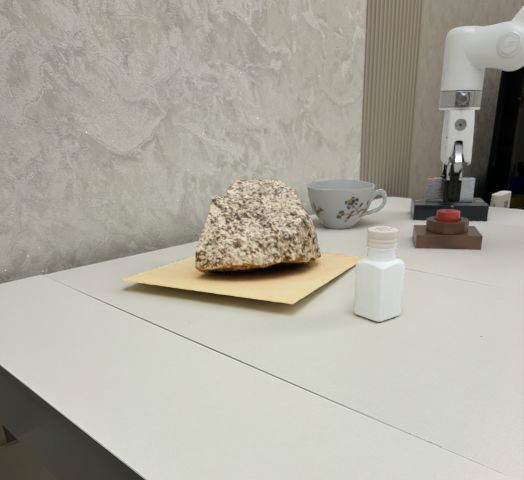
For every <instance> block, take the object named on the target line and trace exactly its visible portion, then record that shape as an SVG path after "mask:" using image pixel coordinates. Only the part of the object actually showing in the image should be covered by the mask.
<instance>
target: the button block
mask: <svg viewBox="0 0 524 480" xmlns="http://www.w3.org/2000/svg"><path fill="white" fill-rule="evenodd" d="M483 237H484V236H483V235H482V233H481V232H480V231H479V230H478V229H477V227H476V226H475V225H470V221H469V220H468V218H464V217H460V219H459V221H456V222H444V221H437V220H436V216H431V217H428V218H427V220H425V224H413V226H412V241H413V244H414V248H415V249H426V250H427V249H429V250H432V249H433V250H469V251H471V250H472V251H481V250H482V245H483Z"/></svg>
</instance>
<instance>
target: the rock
mask: <svg viewBox="0 0 524 480" xmlns="http://www.w3.org/2000/svg"><path fill="white" fill-rule="evenodd" d="M197 241H198V242H197V244H196V247H195V252H194V255H191V256H189V257H186V258H183V259H180V260H176V261H174V262H173V261H172V262H170V263H167V264H165V265H162V266H159V267H155V268H153V269H149V270H146V271H143V272H141V273H137V274H135V275H131V276H128V277H125V278H122V279H121V281H125V282H131V283H136V284H137V283H139V284H146V285H151V286H159V287H167V288H173V289H179V290H186V291H195V292H201V293H210V294H216V295H223V296H224V295H225V296H232V297H237V298H245V299H246V298H247V299H252V300H258V301H266V302H267V301H269V302H273V303H282V304H289V305H294V304H296V303H298V302H299V301H300V300H302V299H305V297H307V296H309V295H310V294H311V293H314V292H315V291H316V290H318V289H319V288H321V287H323V286H324V285H326V284H328V283H329V282H330V281H332V280H334V279H335V278H337V277H338V276H340V275H341V274H343V273H344V272H346V271H348V270H349V269H351V268H353V267H354V266H356V263H357V262H358V260H360V259H362V258H364V257H365V256H358V255H348V254H336V253H326V252H325V253H324V252H321V248H320V245H319V240H318V235H317V233H316V229H315V226H314V222H313V221H312V219H311V216H310V215H309V214H308V211H307V209H306V208H305V207H304V204H303V203H302V202H301V200H300V197H299V193H298V191H297V189H295V188H294V187H291V186H290V187H289V186H288V185H287V184H285V182H284V181H283V180H279V179H274V178H264V179H247V178H243V179H242V178H241V179H236V180H234V181H232V183H230V184H229V185H228V188H227V190H226V192H225V194H224V196H220V195H218V194H215V195H212V198H211V202H210V205H209V212H208V213H207V218H206V219H205V223H204V226H203V229H202V231H200V234H199V238H198V240H197ZM214 271H215V272H214Z"/></svg>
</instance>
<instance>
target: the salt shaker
mask: <svg viewBox="0 0 524 480" xmlns="http://www.w3.org/2000/svg"><path fill="white" fill-rule="evenodd" d="M399 232H400V230H399V228H398V227H394V226H387V225H380V226H379V225H376V226H375V225H374V226H370V227H368V228H367V232H366V234H367V236H366V246H365V247H366V256H363V257H364V258H362V259H360V260H358V262H357V263H356V264H355V276H354V293H353V294H354V297H353V312H354V314H355V315H357V316H360V317H363V318H366V319H368V320H371V321H374V322H376V323H377V322H378V323H380V322H384V321H386V320H389V319H392V318H396V317H398V316H400V315H401V313H402V310H403V309H402V308H403V299H404V287H405V275H406V263H405V261H403V259H400V258H399V257H397V249H398V247H399V236H400V235H399V234H400V233H399Z"/></svg>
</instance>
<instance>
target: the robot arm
mask: <svg viewBox="0 0 524 480" xmlns="http://www.w3.org/2000/svg"><path fill="white" fill-rule="evenodd" d="M442 61H443V62H442V70H441V71H442V73H441V80H440V92H439V100H438V111H444V113H443V122H442V130H441V141H440V142H441V143H440V158H439V159H440V162H441V163H442V168H441V175H440V177H446V180H445V181H444V190H443V199H442V200H443V201H444V202H459V201H460V194H461V185H462V177H463V166H464V165H465V166H467V167H468V166H470V165H471V163H472V157H473V156H472V154H473V145H474V133H475V122H476V120H475V119H476V117H475V116H476V111H479V110H481V103H482V95H483V88H484V82H485V81H484V80H485V74H486V69H498V70H500V71H504V72H515V71H517V70H519V69H521V68H523V67H524V4H523V5H522V7H521V8H520V9H519V10H518V12H517V13H516V14H515V15H514V17H513V18H512V19H511V20H508V21H503V22H499V23H496V24H488V25H463V26H457V27H454V28H451V29H450V30H449V31H448V32H447V33H446V37H445V42H444V52H443V60H442Z"/></svg>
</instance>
